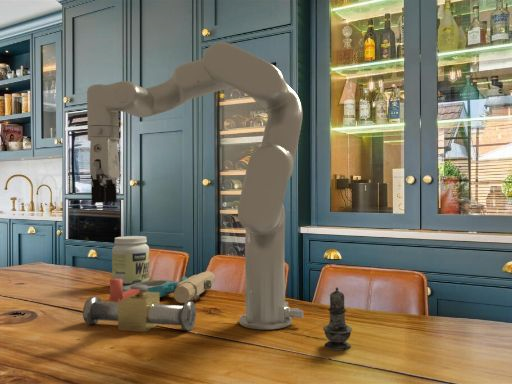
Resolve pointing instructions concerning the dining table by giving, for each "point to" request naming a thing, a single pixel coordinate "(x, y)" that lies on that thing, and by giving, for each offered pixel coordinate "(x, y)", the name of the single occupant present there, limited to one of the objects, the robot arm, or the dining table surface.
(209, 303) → the dining table surface
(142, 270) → the supplement tub
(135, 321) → the valve body
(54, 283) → the dining table surface
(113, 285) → the lever
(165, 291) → the butterfly valve
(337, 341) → the salt shaker
